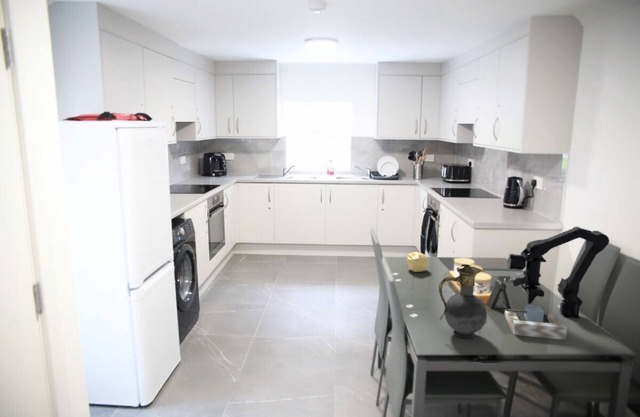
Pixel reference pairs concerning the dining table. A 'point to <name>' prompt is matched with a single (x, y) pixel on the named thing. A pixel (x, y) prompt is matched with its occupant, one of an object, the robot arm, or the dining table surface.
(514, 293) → the dining table surface
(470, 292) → the pitcher
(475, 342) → the dining table surface
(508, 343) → the dining table surface
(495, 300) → the phone stand
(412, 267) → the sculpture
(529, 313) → the pale blue mallet
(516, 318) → the beige grey patterned tray
